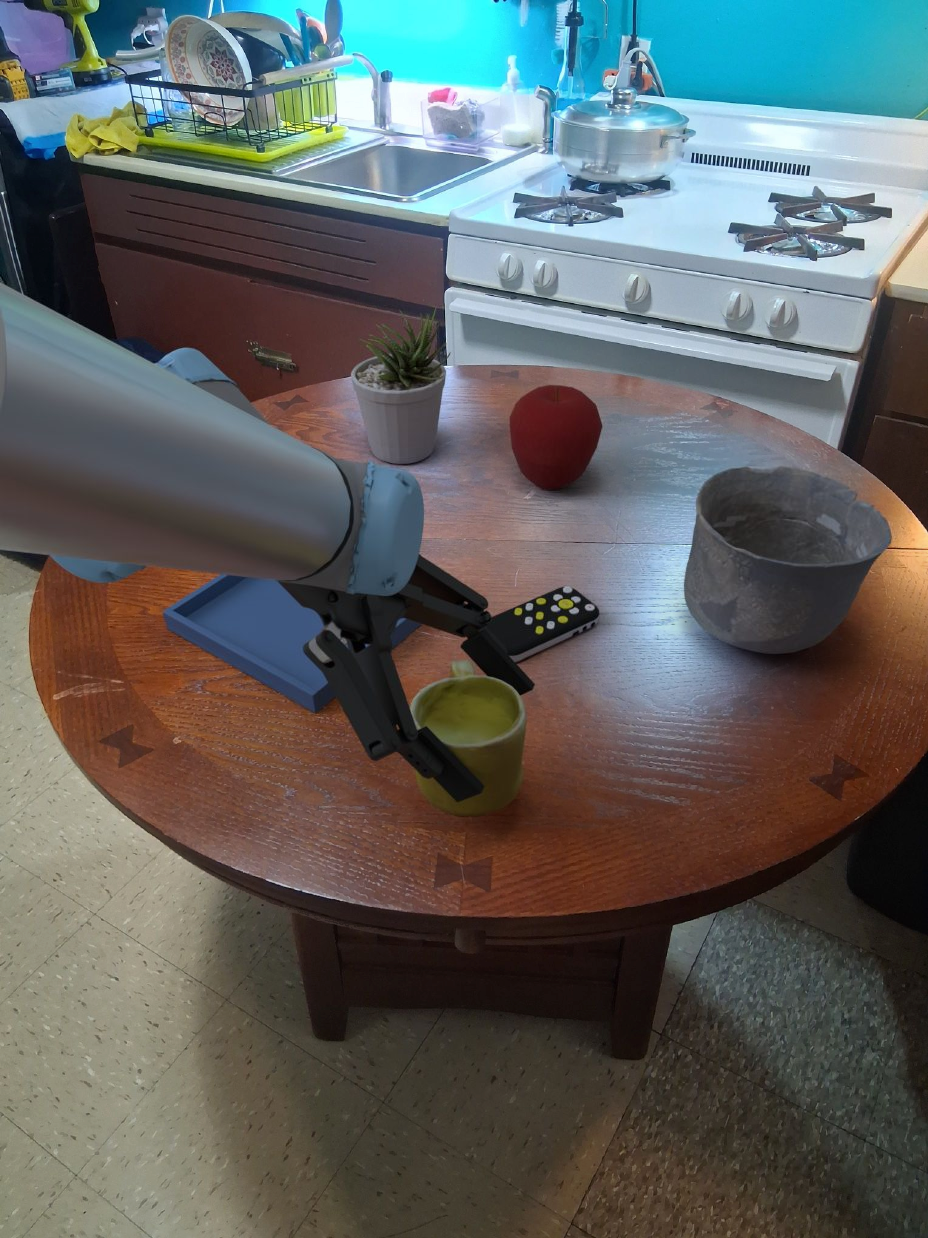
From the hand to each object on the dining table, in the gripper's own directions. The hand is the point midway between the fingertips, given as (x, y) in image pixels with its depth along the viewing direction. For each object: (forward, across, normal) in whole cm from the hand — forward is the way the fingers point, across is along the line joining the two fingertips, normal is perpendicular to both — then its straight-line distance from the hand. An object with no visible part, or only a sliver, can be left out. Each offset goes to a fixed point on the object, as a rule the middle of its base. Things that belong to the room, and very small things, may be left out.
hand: (498, 740), depth 70 cm
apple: (-3, -53, -14) cm, 55 cm away
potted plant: (-18, -53, -29) cm, 63 cm away
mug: (+1, 0, -5) cm, 5 cm away
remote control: (+3, -23, -8) cm, 25 cm away
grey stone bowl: (+18, -31, +7) cm, 37 cm away
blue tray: (-14, -17, -25) cm, 33 cm away
